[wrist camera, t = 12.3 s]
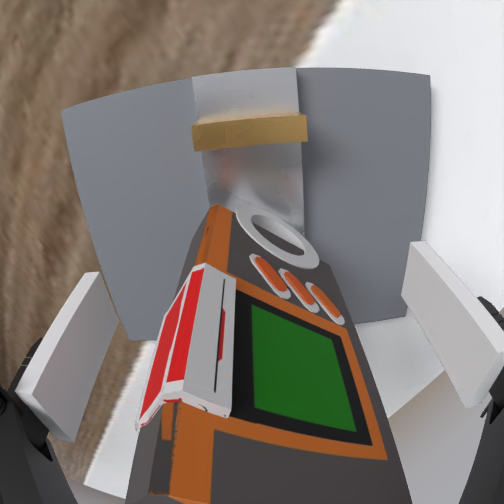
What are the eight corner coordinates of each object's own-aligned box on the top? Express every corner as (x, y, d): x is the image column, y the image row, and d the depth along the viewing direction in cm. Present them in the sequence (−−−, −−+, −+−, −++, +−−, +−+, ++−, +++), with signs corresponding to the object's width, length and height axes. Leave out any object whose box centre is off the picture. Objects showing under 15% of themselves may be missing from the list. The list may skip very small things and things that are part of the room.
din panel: (133, 330, 24) (129, 340, 23) (70, 107, 16) (60, 109, 15) (399, 306, 23) (405, 316, 22) (420, 75, 15) (430, 75, 14)
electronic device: (323, 238, 18) (427, 512, 5) (294, 276, 19) (347, 543, 6) (218, 178, 16) (146, 504, 3) (192, 223, 18) (111, 522, 4)
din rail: (233, 336, 23) (231, 365, 20) (194, 77, 14) (184, 75, 12) (303, 330, 23) (309, 359, 20) (293, 68, 14) (302, 64, 12)
